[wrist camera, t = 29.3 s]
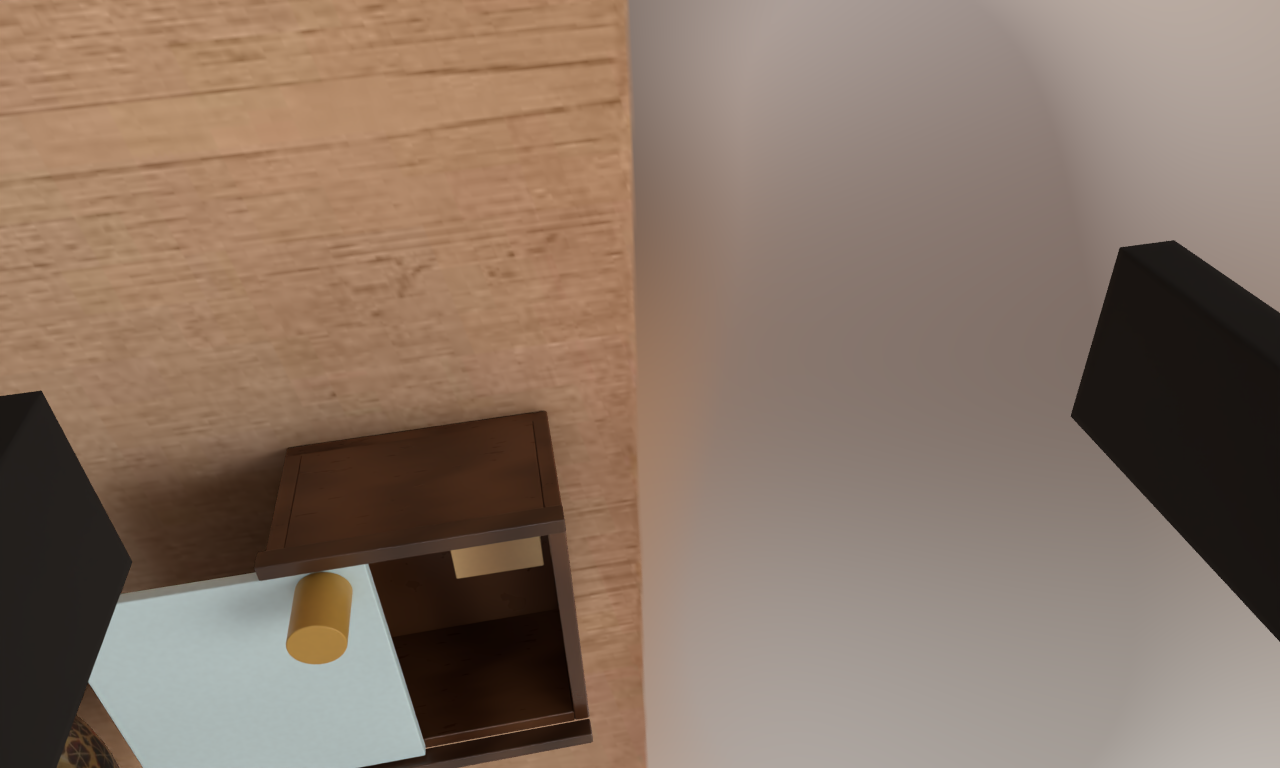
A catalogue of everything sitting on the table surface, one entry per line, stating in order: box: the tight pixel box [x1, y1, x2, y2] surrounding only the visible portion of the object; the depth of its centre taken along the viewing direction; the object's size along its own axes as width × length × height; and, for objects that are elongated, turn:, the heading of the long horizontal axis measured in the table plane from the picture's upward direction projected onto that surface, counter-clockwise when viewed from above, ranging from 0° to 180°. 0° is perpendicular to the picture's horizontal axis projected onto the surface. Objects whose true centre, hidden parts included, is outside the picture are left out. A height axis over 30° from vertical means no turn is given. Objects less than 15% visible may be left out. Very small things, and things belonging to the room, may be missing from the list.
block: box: [450, 536, 544, 579], centre depth 46 cm, size 4×4×4 cm
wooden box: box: [254, 411, 593, 768], centre depth 47 cm, size 13×17×9 cm
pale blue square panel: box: [88, 564, 425, 768], centre depth 42 cm, size 13×14×4 cm
